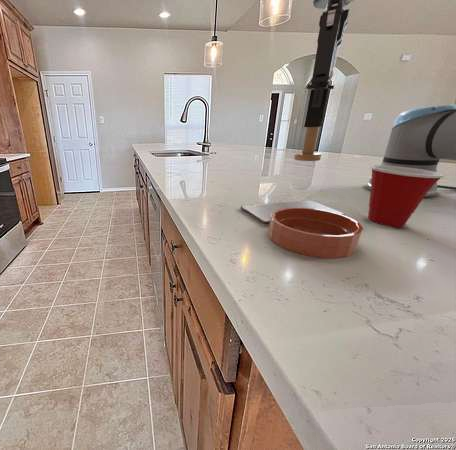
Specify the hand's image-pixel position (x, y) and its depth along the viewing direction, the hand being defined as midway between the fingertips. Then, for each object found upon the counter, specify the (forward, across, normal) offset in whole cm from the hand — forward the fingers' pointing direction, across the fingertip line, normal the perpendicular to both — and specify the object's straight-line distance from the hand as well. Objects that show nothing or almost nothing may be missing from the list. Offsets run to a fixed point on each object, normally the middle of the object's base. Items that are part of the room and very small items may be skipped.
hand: (313, 126), depth 48 cm
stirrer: (+6, 0, 0) cm, 6 cm away
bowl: (+20, +10, +4) cm, 23 cm away
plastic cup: (+20, -8, +17) cm, 28 cm away
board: (+20, -4, -2) cm, 21 cm away
